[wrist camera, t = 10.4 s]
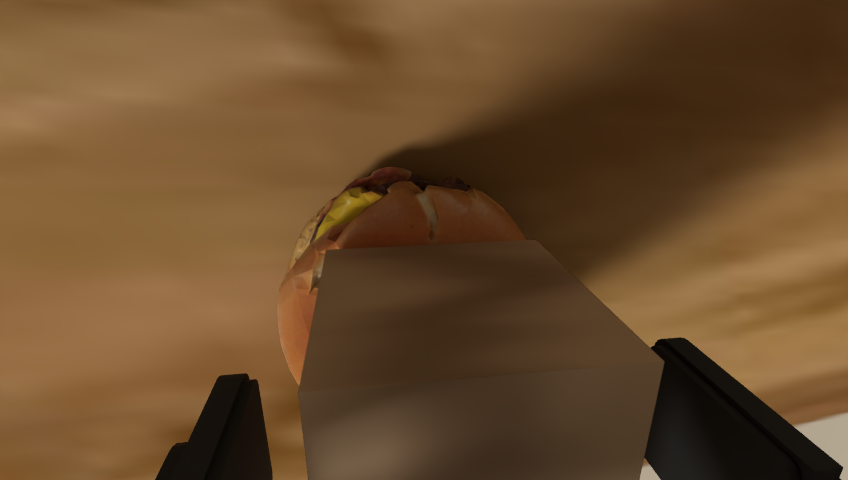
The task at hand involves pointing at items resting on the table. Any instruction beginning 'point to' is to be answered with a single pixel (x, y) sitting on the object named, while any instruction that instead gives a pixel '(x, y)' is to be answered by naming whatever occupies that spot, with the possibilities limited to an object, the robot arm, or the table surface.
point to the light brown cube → (470, 369)
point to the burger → (381, 236)
